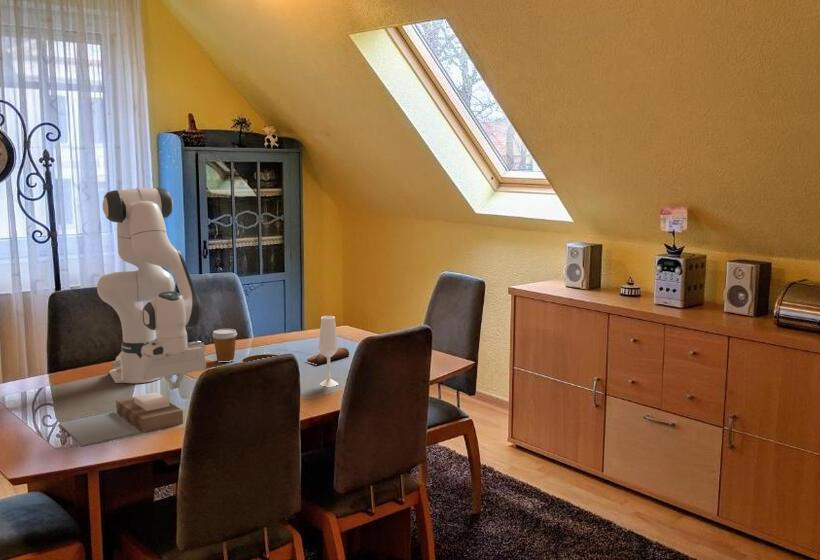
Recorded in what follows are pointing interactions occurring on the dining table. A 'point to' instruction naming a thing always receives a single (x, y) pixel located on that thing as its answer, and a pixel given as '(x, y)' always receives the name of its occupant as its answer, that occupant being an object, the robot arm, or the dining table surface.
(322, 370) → the dining table surface
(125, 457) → the dining table surface
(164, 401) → the cream flat block
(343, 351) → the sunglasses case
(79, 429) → the grey mat
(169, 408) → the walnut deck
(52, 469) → the dining table surface
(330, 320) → the champagne flute
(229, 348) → the disposable coffee cup
